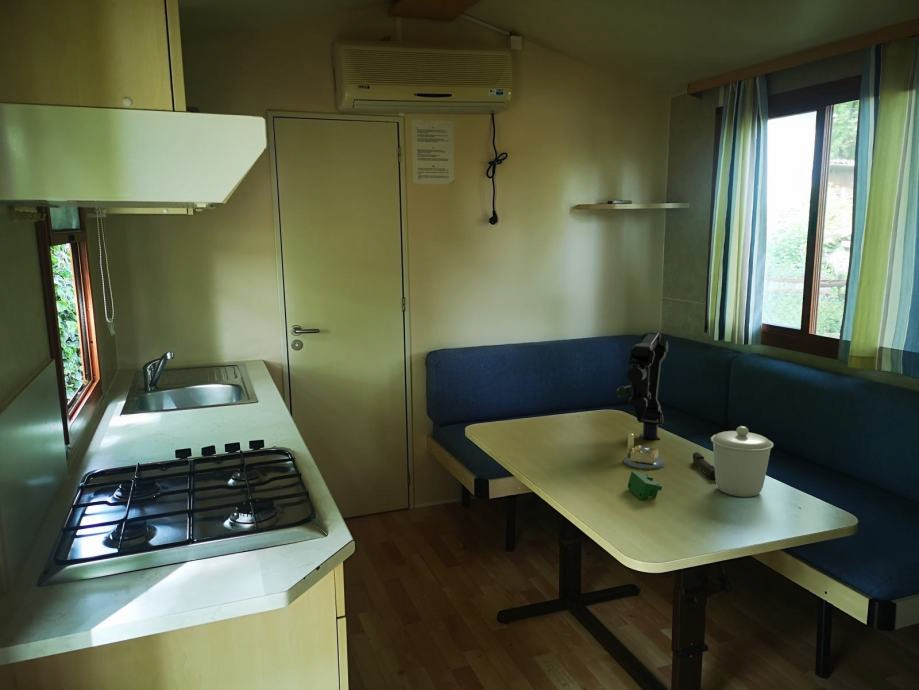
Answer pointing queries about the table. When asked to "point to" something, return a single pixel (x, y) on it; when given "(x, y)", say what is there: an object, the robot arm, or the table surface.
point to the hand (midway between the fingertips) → (638, 421)
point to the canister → (740, 461)
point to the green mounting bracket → (643, 485)
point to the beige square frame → (638, 456)
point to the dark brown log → (704, 466)
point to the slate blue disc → (640, 465)
